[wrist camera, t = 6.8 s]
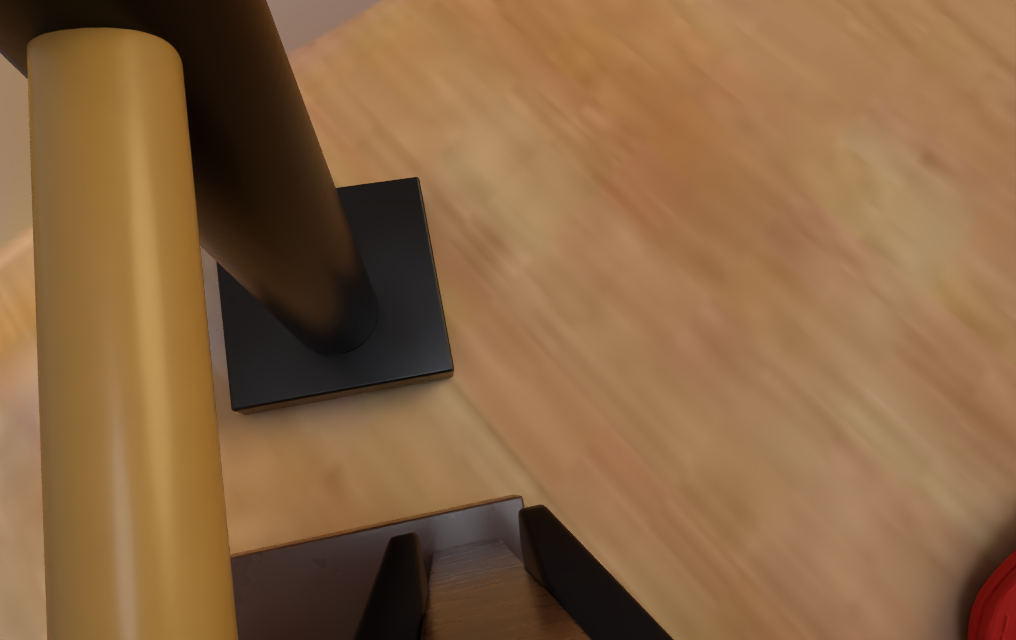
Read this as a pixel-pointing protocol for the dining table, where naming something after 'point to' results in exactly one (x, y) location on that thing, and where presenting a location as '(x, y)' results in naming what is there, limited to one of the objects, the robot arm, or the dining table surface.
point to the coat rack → (189, 290)
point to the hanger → (449, 570)
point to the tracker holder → (996, 605)
